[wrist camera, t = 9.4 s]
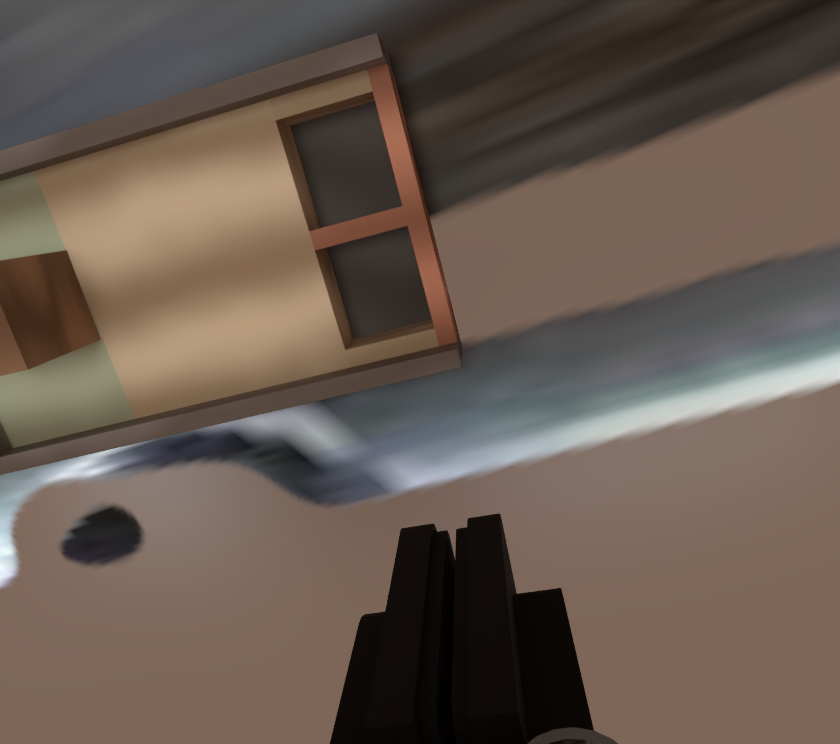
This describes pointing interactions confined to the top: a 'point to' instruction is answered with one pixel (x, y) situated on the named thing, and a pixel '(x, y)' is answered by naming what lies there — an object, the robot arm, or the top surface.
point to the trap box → (228, 256)
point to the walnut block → (41, 311)
